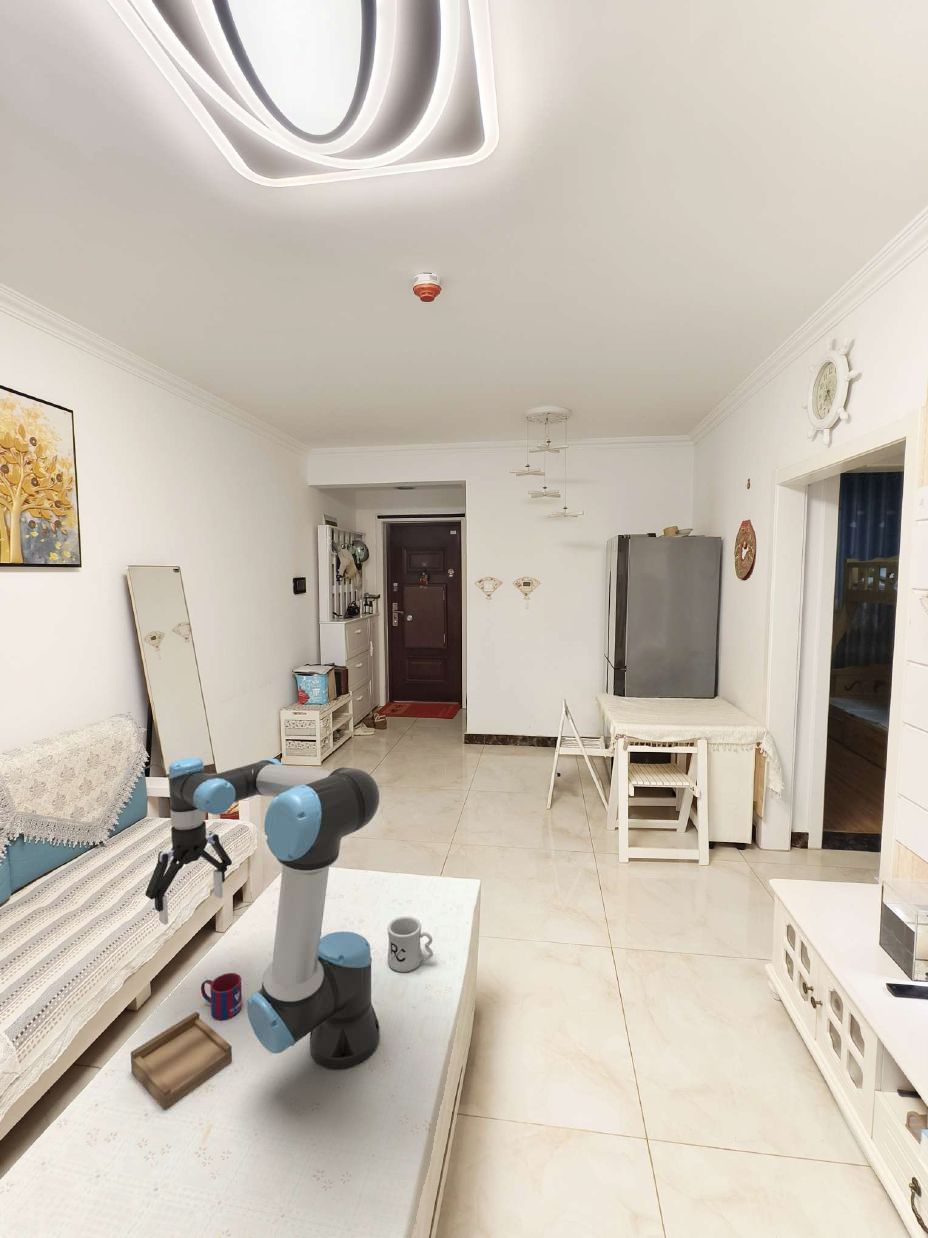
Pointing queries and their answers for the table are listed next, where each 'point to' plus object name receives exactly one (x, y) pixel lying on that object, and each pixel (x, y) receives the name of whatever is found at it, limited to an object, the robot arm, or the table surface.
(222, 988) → the cup
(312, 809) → the robot arm
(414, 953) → the mug
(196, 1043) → the tan flat rimmed tray
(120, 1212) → the table surface
